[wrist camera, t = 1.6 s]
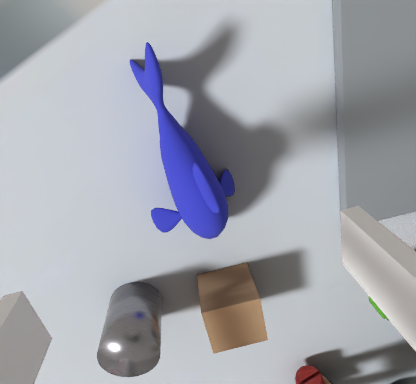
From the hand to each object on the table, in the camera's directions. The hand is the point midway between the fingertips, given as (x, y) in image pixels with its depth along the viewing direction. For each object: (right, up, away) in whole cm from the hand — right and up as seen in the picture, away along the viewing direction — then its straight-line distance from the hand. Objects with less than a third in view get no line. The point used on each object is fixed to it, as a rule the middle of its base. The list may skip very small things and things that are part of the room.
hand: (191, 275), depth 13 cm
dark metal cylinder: (-6, -7, +18) cm, 20 cm away
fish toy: (-2, +7, +12) cm, 14 cm away
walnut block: (+3, -6, +18) cm, 20 cm away
